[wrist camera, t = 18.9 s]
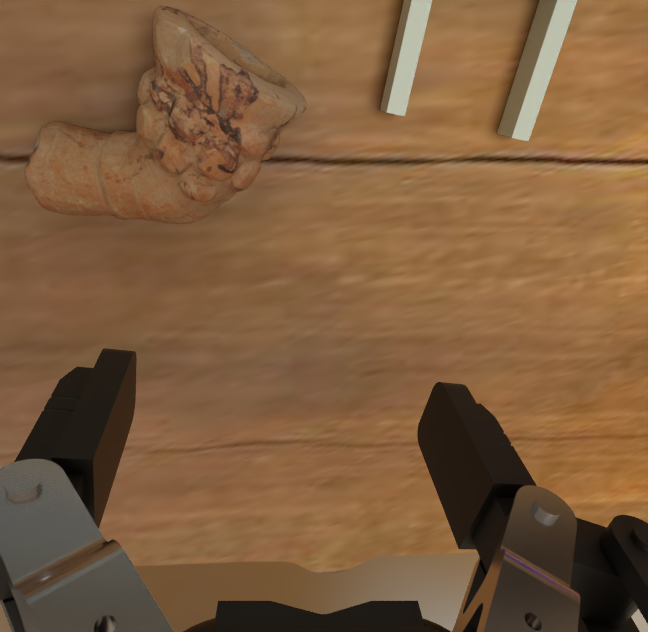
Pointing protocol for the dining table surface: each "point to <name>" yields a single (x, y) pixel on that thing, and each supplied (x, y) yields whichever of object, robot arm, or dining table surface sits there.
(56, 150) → the clay pipe
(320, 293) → the dining table surface
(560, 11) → the grey u-shaped bracket
